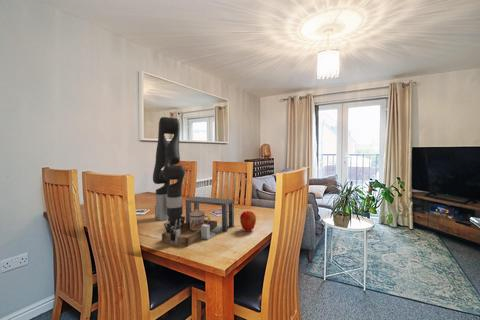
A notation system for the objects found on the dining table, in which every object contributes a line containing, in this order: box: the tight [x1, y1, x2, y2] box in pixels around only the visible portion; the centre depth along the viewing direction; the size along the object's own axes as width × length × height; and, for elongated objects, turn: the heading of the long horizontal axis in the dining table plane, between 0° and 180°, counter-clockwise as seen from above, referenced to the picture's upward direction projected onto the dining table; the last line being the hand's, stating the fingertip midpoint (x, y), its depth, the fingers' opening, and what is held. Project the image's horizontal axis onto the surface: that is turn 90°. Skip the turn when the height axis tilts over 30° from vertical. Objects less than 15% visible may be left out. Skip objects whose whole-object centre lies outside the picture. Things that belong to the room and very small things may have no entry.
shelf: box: [185, 196, 235, 233], centre depth 142 cm, size 27×11×16 cm, turn 67°
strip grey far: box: [211, 224, 222, 234], centre depth 136 cm, size 4×11×1 cm, turn 157°
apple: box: [239, 210, 257, 232], centre depth 134 cm, size 9×9×12 cm
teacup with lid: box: [189, 208, 211, 232], centre depth 139 cm, size 12×9×12 cm
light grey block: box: [199, 224, 216, 241], centre depth 125 cm, size 4×8×7 cm, turn 157°
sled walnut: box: [161, 218, 218, 247], centre depth 129 cm, size 16×30×7 cm, turn 157°
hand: (175, 239), depth 117 cm, fingers closed on sled walnut, 3 cm apart
